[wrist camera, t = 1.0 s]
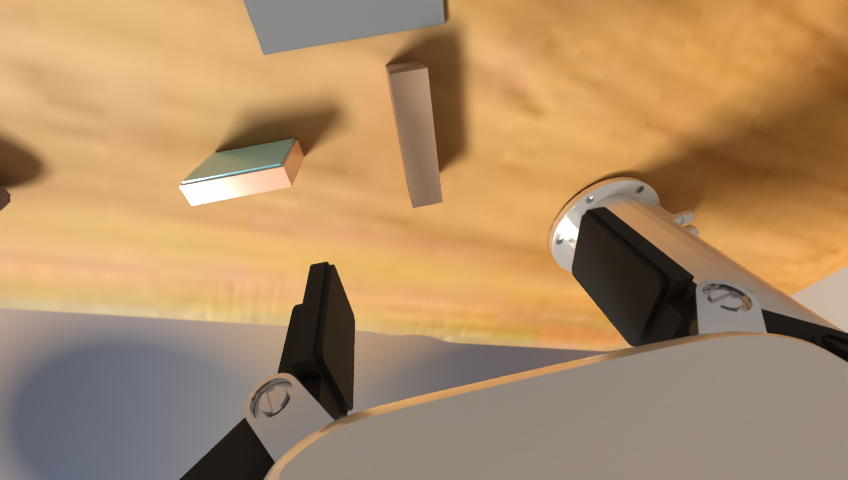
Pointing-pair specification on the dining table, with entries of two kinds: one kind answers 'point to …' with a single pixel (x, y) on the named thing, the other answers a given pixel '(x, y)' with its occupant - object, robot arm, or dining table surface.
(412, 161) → the brown rectangular pillar
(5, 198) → the perforated stone tool
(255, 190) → the tile
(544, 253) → the dining table surface
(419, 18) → the mat
